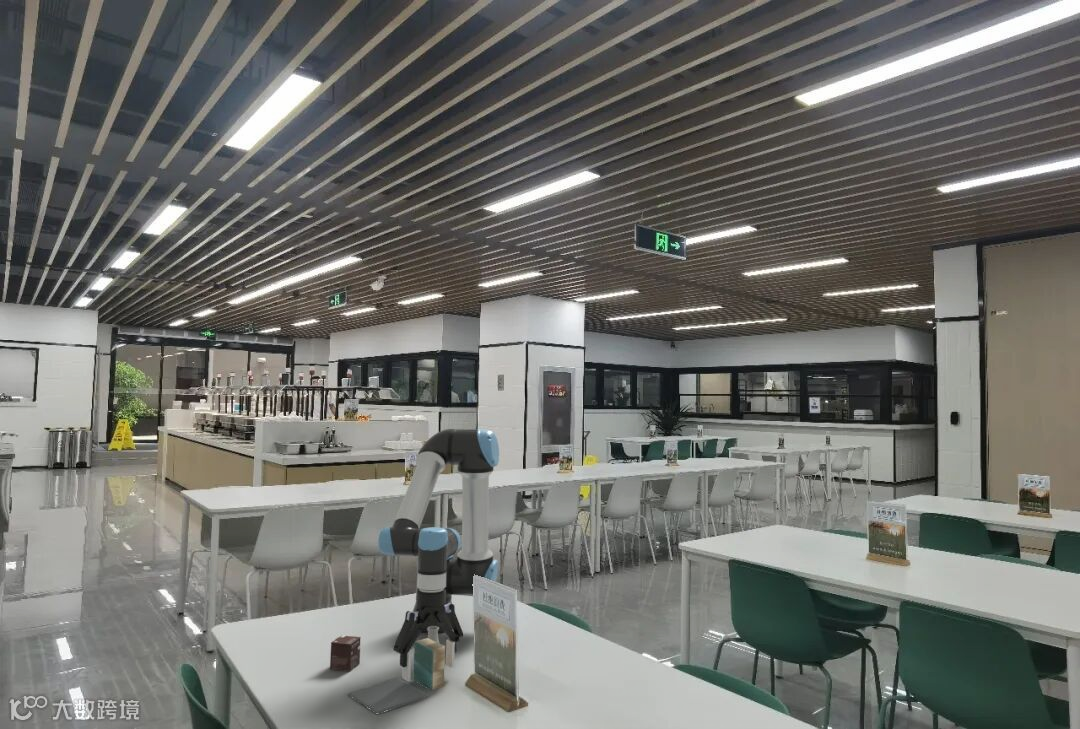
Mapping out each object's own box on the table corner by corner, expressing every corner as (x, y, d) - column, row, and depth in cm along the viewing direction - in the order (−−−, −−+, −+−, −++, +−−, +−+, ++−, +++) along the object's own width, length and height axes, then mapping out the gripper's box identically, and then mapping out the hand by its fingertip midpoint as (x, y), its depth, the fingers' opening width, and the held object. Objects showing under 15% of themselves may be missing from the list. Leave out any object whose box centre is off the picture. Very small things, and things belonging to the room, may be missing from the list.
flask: (450, 662, 186) (451, 625, 187) (435, 671, 179) (436, 633, 180) (428, 657, 189) (429, 622, 190) (413, 666, 182) (414, 629, 183)
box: (349, 672, 178) (350, 644, 178) (329, 670, 179) (330, 642, 179) (360, 663, 184) (361, 636, 184) (340, 661, 185) (341, 634, 185)
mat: (397, 679, 173) (397, 677, 173) (427, 697, 163) (427, 694, 163) (347, 694, 163) (348, 692, 163) (377, 714, 153) (377, 711, 153)
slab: (426, 676, 176) (427, 638, 176) (443, 686, 170) (445, 646, 171) (413, 680, 173) (414, 641, 174) (430, 690, 167) (432, 649, 168)
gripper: (460, 578, 184) (458, 657, 183) (381, 593, 167) (378, 680, 166) (477, 583, 179) (475, 664, 177) (397, 600, 162) (394, 689, 160)
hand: (428, 672), depth 171 cm, fingers open, 13 cm apart
